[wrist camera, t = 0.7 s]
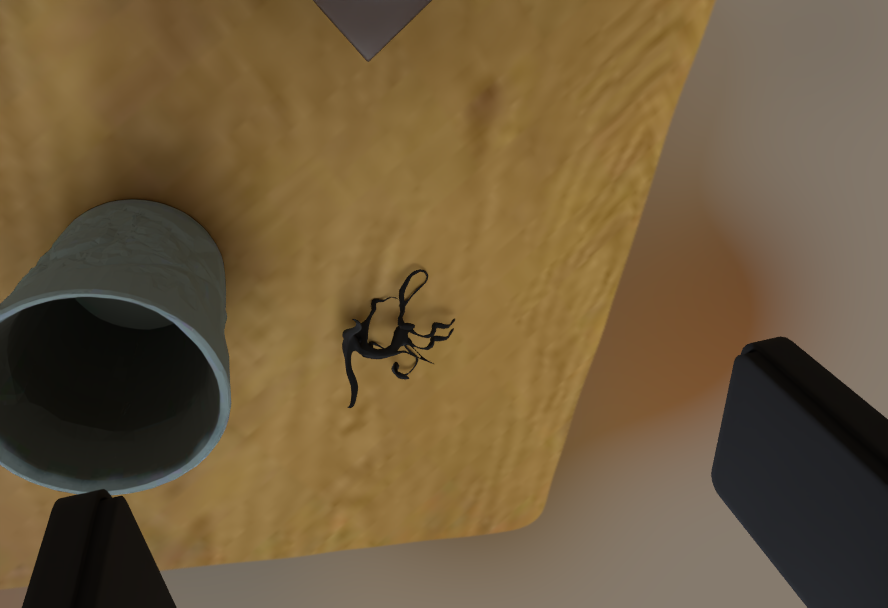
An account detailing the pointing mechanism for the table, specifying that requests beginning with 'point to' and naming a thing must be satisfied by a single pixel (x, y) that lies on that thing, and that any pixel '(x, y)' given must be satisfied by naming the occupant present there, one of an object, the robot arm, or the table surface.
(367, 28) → the cabinet
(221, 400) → the grey green cup
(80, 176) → the table surface
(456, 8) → the table surface
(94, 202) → the table surface
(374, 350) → the creature
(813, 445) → the robot arm
